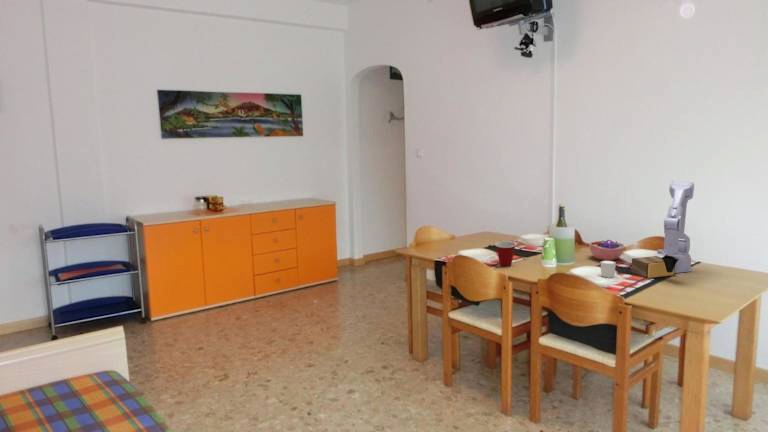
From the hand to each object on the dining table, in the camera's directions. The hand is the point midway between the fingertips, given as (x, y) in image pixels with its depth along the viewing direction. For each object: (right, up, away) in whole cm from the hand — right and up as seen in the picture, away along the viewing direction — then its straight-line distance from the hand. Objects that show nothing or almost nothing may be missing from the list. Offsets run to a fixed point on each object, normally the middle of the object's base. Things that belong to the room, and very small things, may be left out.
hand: (669, 272), depth 248 cm
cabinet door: (0, -3, +7) cm, 8 cm away
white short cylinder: (-24, -3, +11) cm, 27 cm away
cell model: (-12, +2, +42) cm, 44 cm away
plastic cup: (-68, 0, +35) cm, 76 cm away
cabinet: (-2, -2, +13) cm, 13 cm away
